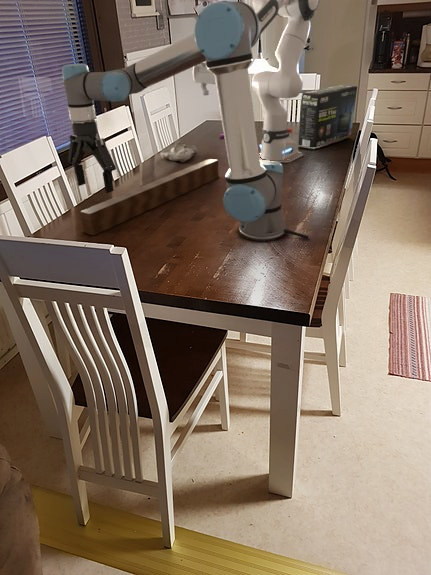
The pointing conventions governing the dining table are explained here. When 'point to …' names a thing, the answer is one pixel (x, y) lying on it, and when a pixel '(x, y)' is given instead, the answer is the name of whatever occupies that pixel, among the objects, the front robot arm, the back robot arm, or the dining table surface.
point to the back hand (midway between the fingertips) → (214, 96)
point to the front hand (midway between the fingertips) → (95, 188)
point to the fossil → (179, 152)
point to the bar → (147, 197)
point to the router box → (326, 115)
